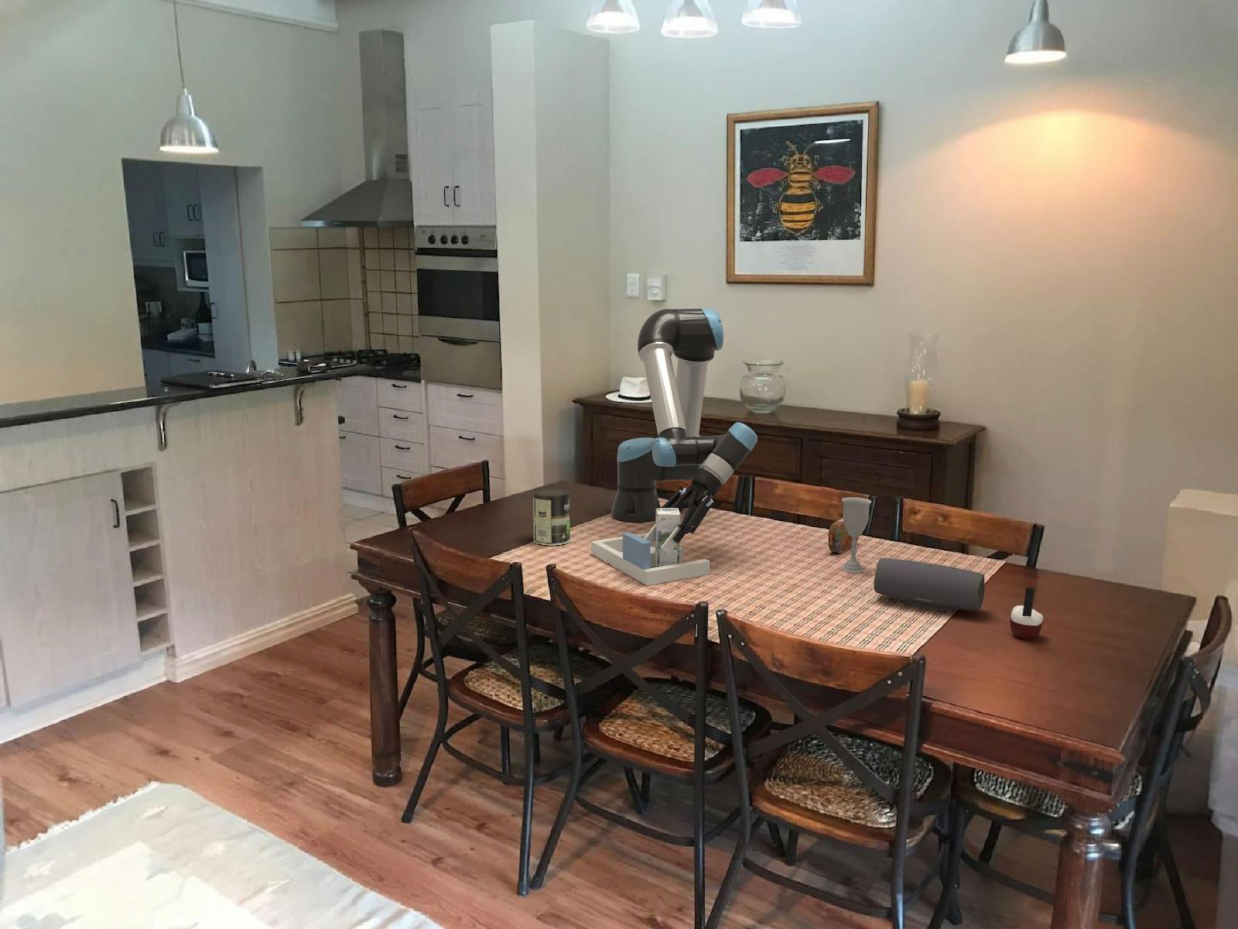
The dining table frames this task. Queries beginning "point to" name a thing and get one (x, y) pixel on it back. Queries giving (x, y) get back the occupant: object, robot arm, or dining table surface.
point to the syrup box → (666, 535)
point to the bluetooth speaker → (929, 585)
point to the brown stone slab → (839, 537)
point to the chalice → (855, 527)
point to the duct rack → (645, 560)
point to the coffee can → (551, 516)
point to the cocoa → (1026, 618)
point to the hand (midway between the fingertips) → (655, 546)
